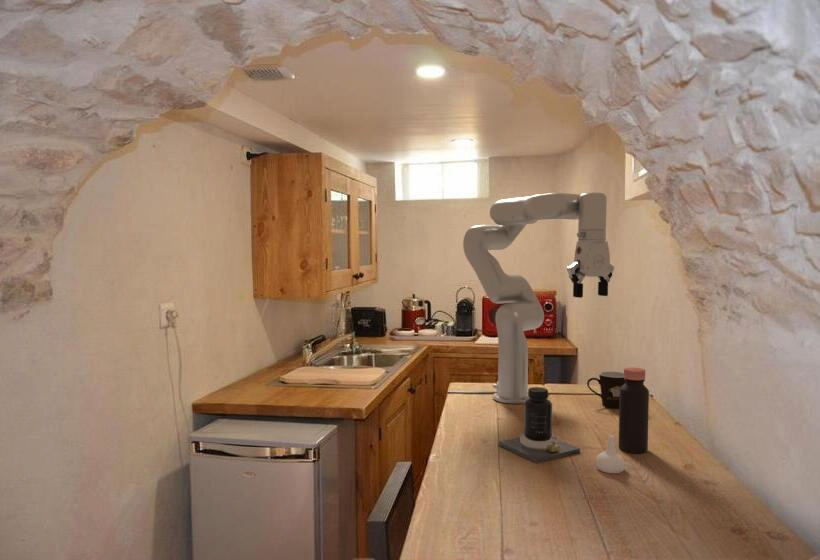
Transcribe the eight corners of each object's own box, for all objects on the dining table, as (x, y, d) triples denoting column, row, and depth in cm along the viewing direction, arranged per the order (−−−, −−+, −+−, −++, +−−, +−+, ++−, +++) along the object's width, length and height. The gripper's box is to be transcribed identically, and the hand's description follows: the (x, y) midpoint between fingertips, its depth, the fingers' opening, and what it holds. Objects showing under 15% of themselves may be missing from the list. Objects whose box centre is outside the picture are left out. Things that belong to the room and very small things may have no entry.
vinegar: (650, 447, 149) (652, 368, 148) (644, 455, 143) (646, 373, 142) (622, 442, 153) (623, 365, 151) (615, 450, 147) (616, 370, 146)
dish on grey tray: (498, 445, 151) (498, 433, 151) (540, 436, 158) (540, 425, 158) (536, 463, 139) (536, 450, 139) (579, 452, 146) (580, 440, 145)
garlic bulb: (600, 477, 132) (602, 442, 131) (591, 464, 138) (593, 431, 137) (628, 476, 132) (631, 442, 131) (618, 463, 138) (620, 430, 137)
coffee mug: (630, 404, 188) (630, 373, 188) (624, 411, 181) (625, 378, 180) (592, 399, 194) (593, 369, 194) (585, 405, 187) (586, 374, 186)
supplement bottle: (522, 432, 152) (523, 385, 151) (550, 432, 151) (550, 386, 151) (525, 441, 145) (525, 392, 144) (553, 441, 144) (554, 392, 144)
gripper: (578, 236, 162) (577, 299, 163) (623, 236, 171) (622, 296, 172) (559, 236, 169) (558, 296, 170) (603, 236, 177) (602, 294, 178)
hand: (590, 296), depth 171 cm, fingers open, 9 cm apart
